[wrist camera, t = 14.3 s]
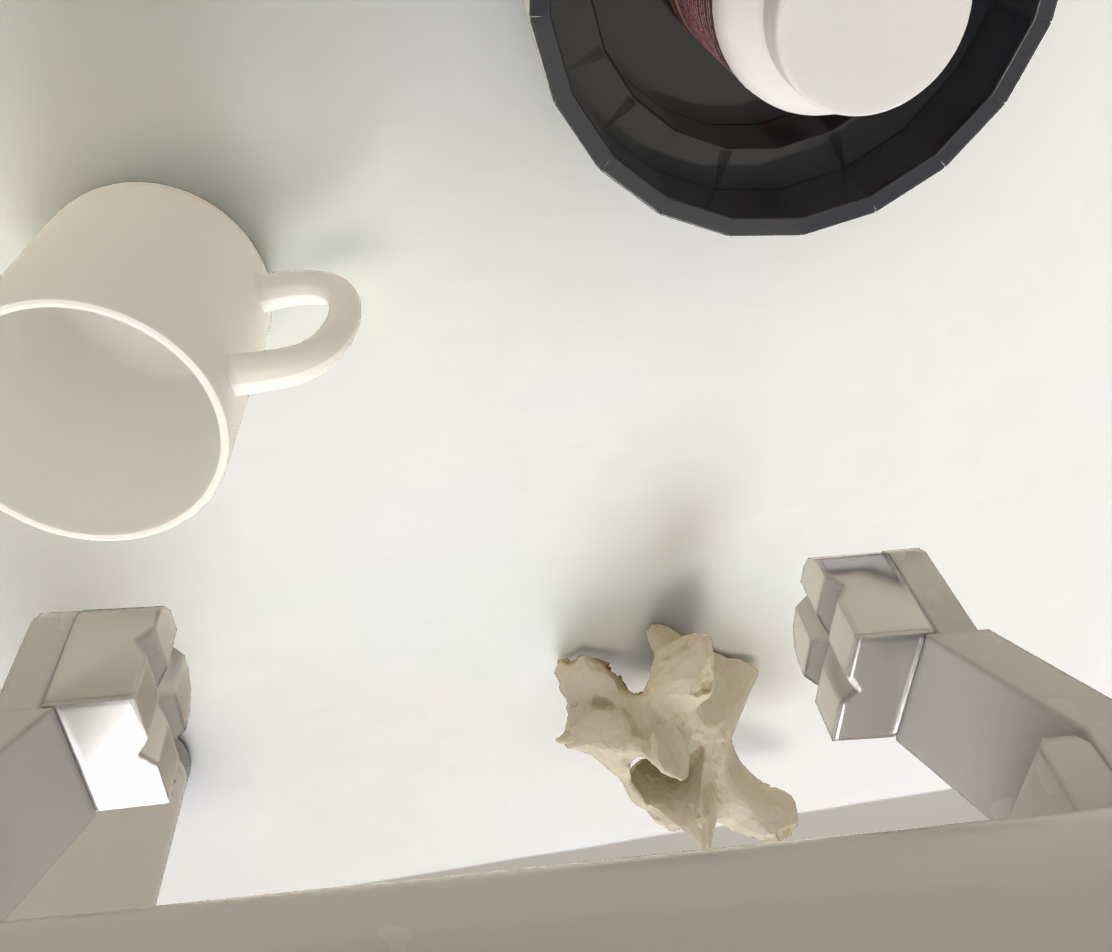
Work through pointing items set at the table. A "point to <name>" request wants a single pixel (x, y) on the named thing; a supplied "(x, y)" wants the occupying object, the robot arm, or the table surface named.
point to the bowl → (760, 117)
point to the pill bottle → (829, 48)
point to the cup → (142, 358)
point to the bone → (676, 738)
